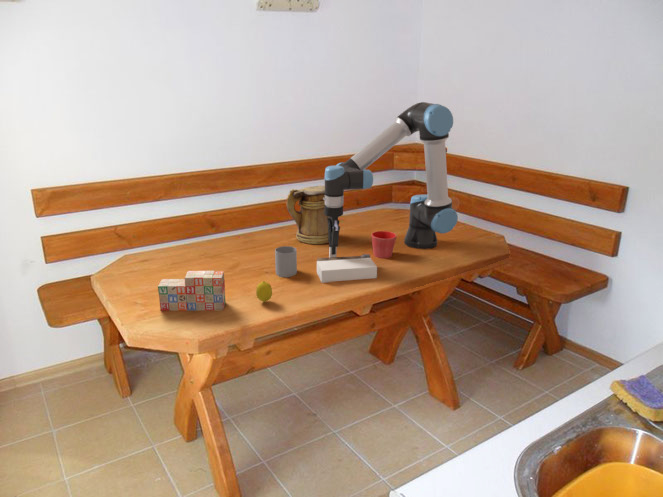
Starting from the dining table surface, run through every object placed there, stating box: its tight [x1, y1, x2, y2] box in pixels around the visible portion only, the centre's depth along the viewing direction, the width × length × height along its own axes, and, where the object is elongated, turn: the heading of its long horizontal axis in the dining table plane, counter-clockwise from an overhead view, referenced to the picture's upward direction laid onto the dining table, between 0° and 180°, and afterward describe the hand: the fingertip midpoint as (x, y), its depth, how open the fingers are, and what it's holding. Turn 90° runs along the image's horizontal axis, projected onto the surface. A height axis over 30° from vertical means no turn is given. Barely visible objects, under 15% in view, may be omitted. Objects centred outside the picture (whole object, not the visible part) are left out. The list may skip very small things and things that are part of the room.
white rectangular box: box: [316, 257, 378, 284], centre depth 211 cm, size 22×10×5 cm, turn 102°
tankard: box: [286, 185, 329, 245], centre depth 248 cm, size 18×24×25 cm
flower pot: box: [371, 230, 397, 259], centre depth 232 cm, size 11×11×10 cm
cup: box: [274, 245, 298, 278], centre depth 212 cm, size 8×8×10 cm
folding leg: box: [316, 253, 371, 262], centre depth 218 cm, size 22×4×5 cm, turn 100°
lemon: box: [255, 281, 273, 303], centre depth 187 cm, size 6×6×8 cm
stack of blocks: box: [157, 270, 226, 312], centre depth 183 cm, size 21×6×12 cm, turn 93°
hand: (332, 260), depth 220 cm, fingers closed
